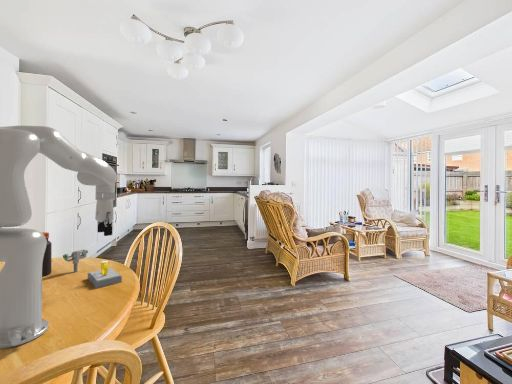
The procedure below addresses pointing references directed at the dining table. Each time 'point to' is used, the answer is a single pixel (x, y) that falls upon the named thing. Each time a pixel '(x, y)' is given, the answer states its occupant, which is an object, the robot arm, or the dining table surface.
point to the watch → (104, 267)
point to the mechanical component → (75, 258)
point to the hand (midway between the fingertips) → (104, 233)
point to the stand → (104, 278)
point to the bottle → (47, 257)
